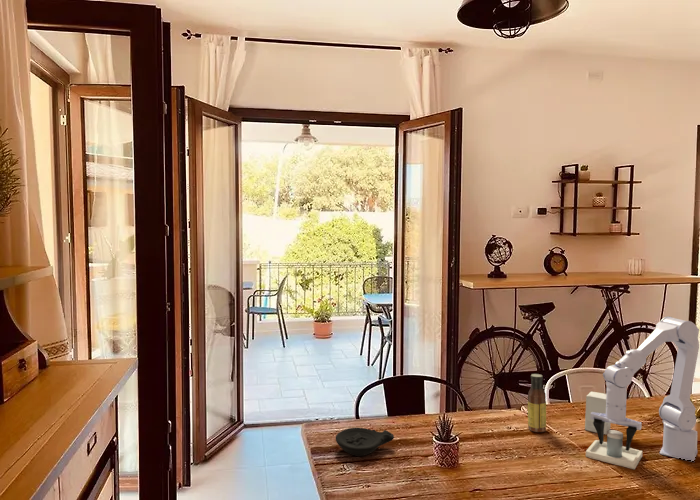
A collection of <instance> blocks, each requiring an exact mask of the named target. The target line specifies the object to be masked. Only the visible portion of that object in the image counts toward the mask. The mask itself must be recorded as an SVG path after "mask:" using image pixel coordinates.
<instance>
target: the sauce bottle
mask: <svg viewBox="0 0 700 500" xmlns="http://www.w3.org/2000/svg"><path fill="white" fill-rule="evenodd" d="M543 378H544V377H543V375H542V374H539V373H531V375H530V379H531V380H530V381H531V382H530V387H529V388H530V389H529V391H528V393H527V394H528V395H527V425H528V427H527V428H528V430H530V431H531V432H534V433H545V432H546V429H547V401H546V399H547V398H546V395H547V394H546V391H545V390H544V387H543V380H544V379H543Z"/></svg>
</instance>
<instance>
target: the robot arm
mask: <svg viewBox="0 0 700 500" xmlns="http://www.w3.org/2000/svg"><path fill="white" fill-rule="evenodd" d="M699 333H700V328H699V327H698V326H697V325H696V324H695V323H694V322H692V321H691V320H684V319H680V318H676V317H673V316H664V317H663V318H662V319H661V320H660V321H659V322H657V323H656V325H655V329H654V330H653V331H652V332H651V333H650V334H649V336H647V338H645V340H644V341H643V342H642V343H641V344H640V345H639V346H638V348H636V349H634V348H633V349H632V348H631V349H629V350H626V352H625V354H624V355H623V356H622V357H621V358H619V360H617V361H616V362H615V364H612V365H609V366H607V367H606V368H605V370H604V372H603V373H602V377H603V379H604V380H605V385H606V393H605V394H606V414H604V413H596V412H592V413H591V415H590V419H592V420H594V422H593V425H594V427H595V429H596V431H597V436H598V437H597V438H598V440H599V442H600V444H602V443H603V442H605V440H604V438H605V437H604V435H605V434H604V423H605V422H609V423H611V424H614V425H618V426H622V427H626V429H625V432H626V433H625V434H626V435H625V436H626V442H625V447H626V450H627V451H629V449H630V448H631V443H632V441H633V438H634V437H635V434H636V432H637V431H641V430H642V425H643V424H642V422H641V421H638V420H634V419H631V418H628V417H626V416H627V392H628V391H627V390H628V389H627V388H628V386H629V385H631V383H632V380H633V377H634V375H635V374H636V373H637V372H638V371H639V370H640V369H641V368H642V367H643V366H644V365H646V363H647V357H649V355H650V354H652V353H653V352H655V351H656V350H657V349H658V348H659V347H660V346H662V345H663V344H664V343H666V342H667V343H668V342H673V343H674V344H675V346H677V354H676V359H675V364H674V371H673V376H672V382H671V388H670V391H669V393H670V394H667V396H665V397H664V398H663V401H662V403H661V404H660V406H659V409H658V414H659V417H660V419H661V420H662V423H663V432H662V433H663V435H662V436H663V437H662V447H661V448H660V451H659V455H663V456H667V457H672V458H676V459H679V458H681V460H683V459H685V460H684V461H687V460H691V461H690V462H692V461H694V460H696V458H695V457H697V455H698V431H697V430H695V429H693V428H694V427H695V425H696V424H697V416H696V410H697V409H696V407H695V405H694V404H693V402H692V401H691V394H692V391H693V390H692V389H693V383H694V377H695V373H696V366H697V362H698V356H699V351H700V342H699ZM694 462H695V461H694Z"/></svg>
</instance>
